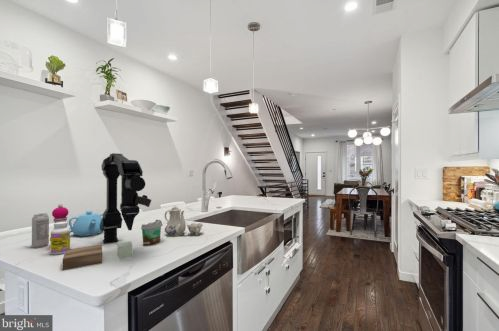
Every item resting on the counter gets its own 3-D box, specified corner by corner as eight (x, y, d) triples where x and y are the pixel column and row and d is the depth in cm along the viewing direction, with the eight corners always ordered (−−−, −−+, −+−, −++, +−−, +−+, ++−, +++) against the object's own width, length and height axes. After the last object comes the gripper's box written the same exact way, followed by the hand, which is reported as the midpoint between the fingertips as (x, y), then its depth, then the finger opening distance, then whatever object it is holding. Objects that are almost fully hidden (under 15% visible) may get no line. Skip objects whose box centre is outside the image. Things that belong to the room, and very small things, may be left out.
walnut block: (66, 259, 95) (66, 249, 96) (101, 254, 102) (101, 244, 102) (62, 270, 85) (62, 258, 85) (102, 263, 92) (102, 252, 92)
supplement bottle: (48, 256, 100) (48, 225, 100) (52, 251, 105) (52, 222, 106) (68, 253, 103) (68, 223, 103) (71, 249, 108) (71, 220, 109)
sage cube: (117, 255, 100) (117, 243, 100) (130, 253, 103) (130, 241, 103) (118, 259, 96) (118, 246, 96) (132, 256, 99) (132, 244, 99)
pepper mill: (53, 251, 106) (54, 205, 106) (47, 248, 110) (47, 204, 110) (72, 246, 112) (73, 203, 113) (65, 244, 116) (66, 202, 116)
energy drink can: (45, 243, 117) (45, 212, 117) (51, 245, 114) (51, 213, 114) (29, 247, 112) (29, 214, 112) (34, 249, 109) (35, 215, 109)
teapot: (105, 228, 147) (105, 207, 147) (114, 234, 132) (114, 211, 133) (65, 234, 134) (65, 211, 134) (69, 242, 119) (70, 216, 119)
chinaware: (208, 236, 134) (210, 206, 136) (185, 241, 120) (187, 207, 122) (173, 230, 149) (175, 202, 150) (150, 233, 135) (152, 203, 136)
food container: (153, 247, 110) (153, 225, 111) (141, 246, 112) (141, 224, 112) (167, 239, 122) (167, 219, 123) (156, 239, 124) (156, 219, 124)
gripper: (153, 190, 97) (153, 229, 96) (147, 188, 113) (147, 222, 112) (121, 192, 91) (121, 233, 91) (120, 189, 107) (120, 225, 107)
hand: (129, 228), depth 100 cm, fingers open, 9 cm apart
